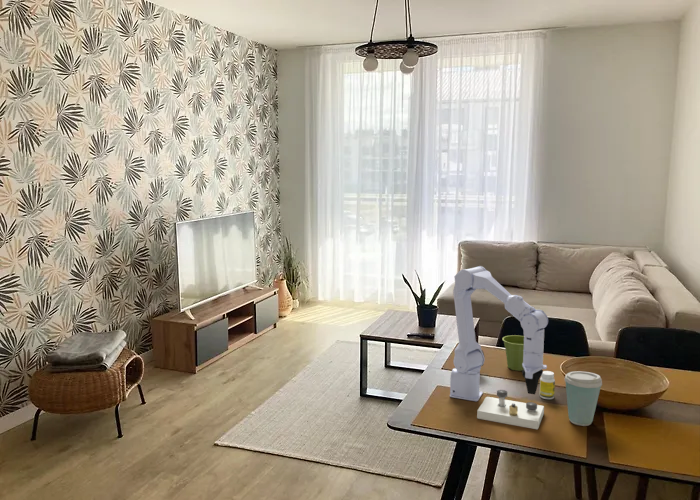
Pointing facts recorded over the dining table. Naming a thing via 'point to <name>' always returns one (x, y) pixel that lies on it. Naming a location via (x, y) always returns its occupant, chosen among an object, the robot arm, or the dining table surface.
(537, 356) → the robot arm
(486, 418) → the mount block
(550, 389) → the supplement bottle
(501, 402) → the knob
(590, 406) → the disposable coffee cup
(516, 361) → the plant pot
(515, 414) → the gold domed cylinder
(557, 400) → the dining table surface
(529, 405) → the knob
